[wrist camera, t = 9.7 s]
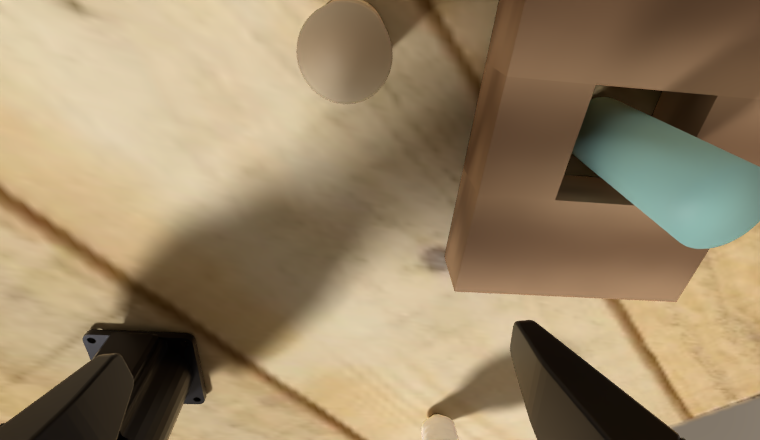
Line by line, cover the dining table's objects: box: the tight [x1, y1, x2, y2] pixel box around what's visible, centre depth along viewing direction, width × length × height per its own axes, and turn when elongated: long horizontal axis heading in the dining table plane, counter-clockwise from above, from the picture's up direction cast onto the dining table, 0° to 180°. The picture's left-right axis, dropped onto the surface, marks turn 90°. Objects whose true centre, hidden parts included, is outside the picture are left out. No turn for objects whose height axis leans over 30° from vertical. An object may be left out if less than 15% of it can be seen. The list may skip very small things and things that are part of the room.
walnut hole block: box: [444, 0, 760, 302], centre depth 18 cm, size 16×12×3 cm
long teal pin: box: [572, 97, 760, 249], centre depth 16 cm, size 3×3×8 cm
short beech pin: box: [297, 0, 392, 104], centre depth 15 cm, size 3×3×5 cm
